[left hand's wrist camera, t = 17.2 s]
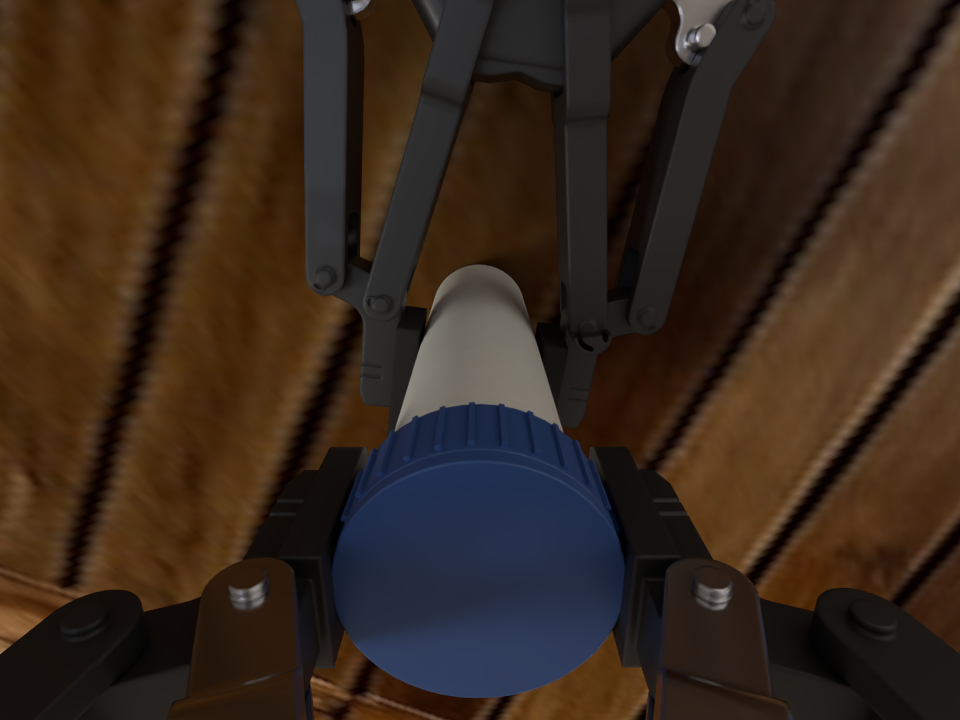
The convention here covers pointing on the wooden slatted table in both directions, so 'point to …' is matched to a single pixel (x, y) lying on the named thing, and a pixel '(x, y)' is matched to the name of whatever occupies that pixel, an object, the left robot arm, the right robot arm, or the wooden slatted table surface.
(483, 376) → the white tube
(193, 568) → the wooden slatted table surface
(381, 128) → the wooden slatted table surface
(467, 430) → the lid
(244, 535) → the wooden slatted table surface
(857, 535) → the wooden slatted table surface
